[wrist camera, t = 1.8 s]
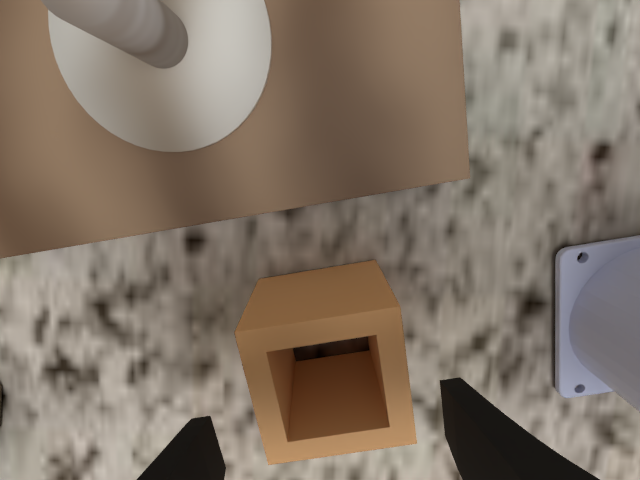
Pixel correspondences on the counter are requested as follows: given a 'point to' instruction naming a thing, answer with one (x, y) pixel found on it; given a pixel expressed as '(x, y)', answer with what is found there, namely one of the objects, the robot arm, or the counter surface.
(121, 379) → the counter surface
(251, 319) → the collar
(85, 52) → the post board
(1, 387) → the ceramic cup
